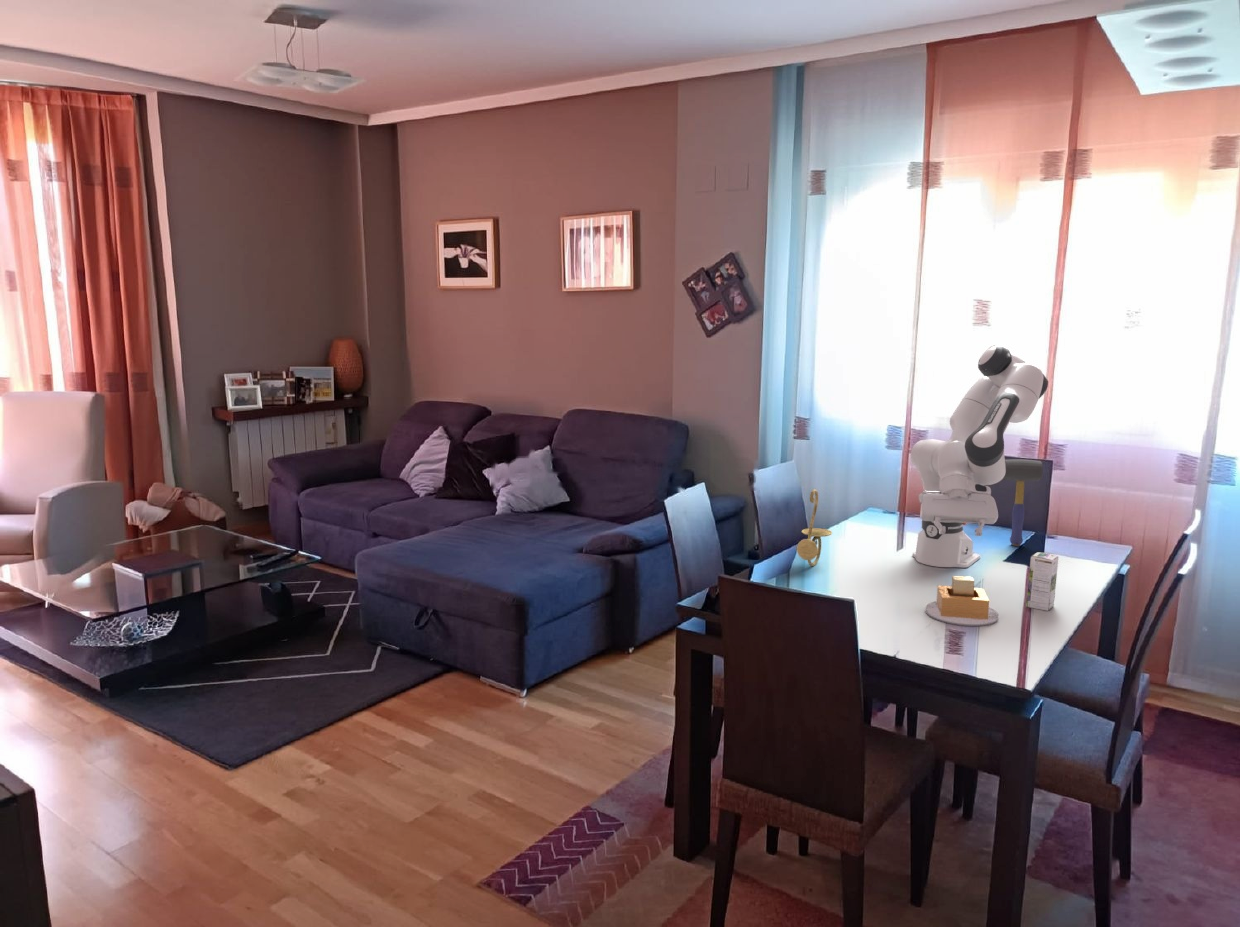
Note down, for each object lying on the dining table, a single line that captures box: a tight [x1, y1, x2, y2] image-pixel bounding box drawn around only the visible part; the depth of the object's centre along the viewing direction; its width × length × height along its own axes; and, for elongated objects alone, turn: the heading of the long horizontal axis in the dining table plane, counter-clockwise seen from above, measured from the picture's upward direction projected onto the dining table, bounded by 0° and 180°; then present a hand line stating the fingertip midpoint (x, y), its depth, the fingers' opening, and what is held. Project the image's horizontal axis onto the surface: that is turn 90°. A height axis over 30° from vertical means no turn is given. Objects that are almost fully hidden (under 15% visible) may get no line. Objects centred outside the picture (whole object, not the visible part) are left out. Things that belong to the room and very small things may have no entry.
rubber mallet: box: [1002, 458, 1044, 547], centre depth 300 cm, size 12×8×30 cm, turn 74°
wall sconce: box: [796, 489, 833, 567], centre depth 277 cm, size 14×10×25 cm
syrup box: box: [1025, 551, 1060, 612], centre depth 239 cm, size 6×6×14 cm
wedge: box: [951, 575, 975, 597], centre depth 233 cm, size 4×5×9 cm
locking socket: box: [925, 585, 999, 627], centre depth 233 cm, size 18×18×6 cm
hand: (960, 534), depth 241 cm, fingers open, 8 cm apart
